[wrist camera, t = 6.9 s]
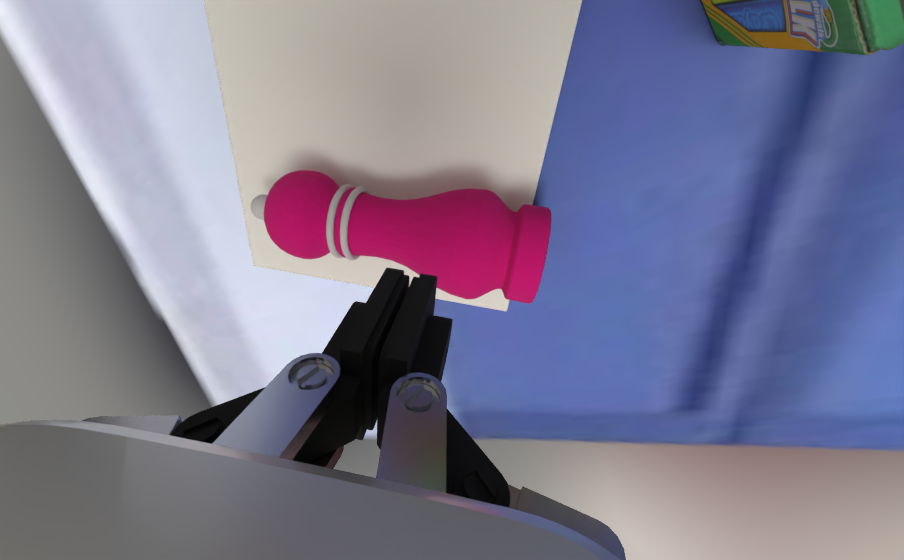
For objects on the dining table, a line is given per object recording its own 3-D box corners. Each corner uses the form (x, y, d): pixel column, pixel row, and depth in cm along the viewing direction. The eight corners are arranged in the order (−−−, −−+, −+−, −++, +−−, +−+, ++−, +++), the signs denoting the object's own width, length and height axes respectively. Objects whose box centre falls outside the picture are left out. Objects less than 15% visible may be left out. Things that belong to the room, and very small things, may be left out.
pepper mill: (540, 221, 29) (291, 179, 31) (560, 181, 22) (235, 129, 24) (524, 315, 28) (266, 265, 30) (540, 305, 21) (201, 240, 23)
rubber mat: (196, -71, 22) (190, -73, 21) (586, -21, 21) (587, -22, 20) (256, 263, 34) (253, 265, 33) (506, 307, 32) (506, 311, 32)
